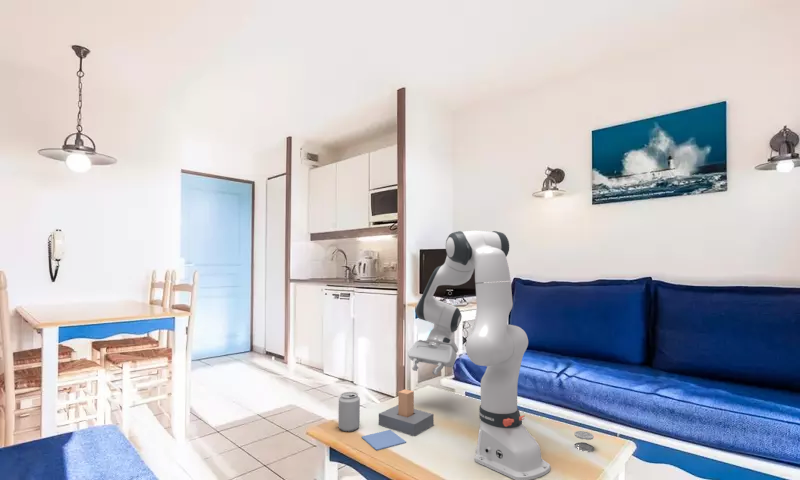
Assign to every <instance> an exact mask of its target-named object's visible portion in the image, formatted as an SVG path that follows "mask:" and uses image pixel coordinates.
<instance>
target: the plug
mask: <svg viewBox="0 0 800 480" xmlns="http://www.w3.org/2000/svg"><path fill="white" fill-rule="evenodd" d="M397 393H398V396H397V397H398V404H397V405H398V415H401V416H404V417H407V418H408V417H410V416H412V415H414V409H415V407H414V405H415V403H414V402H415V400H414V399H415V397H414V396H415V395H414V394H415V392H414V390H410V389H406V388H405V389H402V390H400V391H398V392H397Z"/></svg>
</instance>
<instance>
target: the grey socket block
mask: <svg viewBox="0 0 800 480" xmlns="http://www.w3.org/2000/svg"><path fill="white" fill-rule="evenodd" d="M434 420H435V419H434V413H432V412H427V411H423V410H421V409H417V408H414V415H412V416H410V417H408V418H407V417H404V416H401V415H398V404H397V405H395V406H393V407H391V408H389V409H385V410H384V411H381V412H378V426H380V427H384V428H387V429H389V430H393V431H397V432H399V433H402V434H406V435H409V436H412V437H416V436H418V435H420V434H421V433H423V432H424V431H427V430H428V429H430V428H432V427H433V426H434V425H435V424H434V423H435V422H434Z"/></svg>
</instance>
